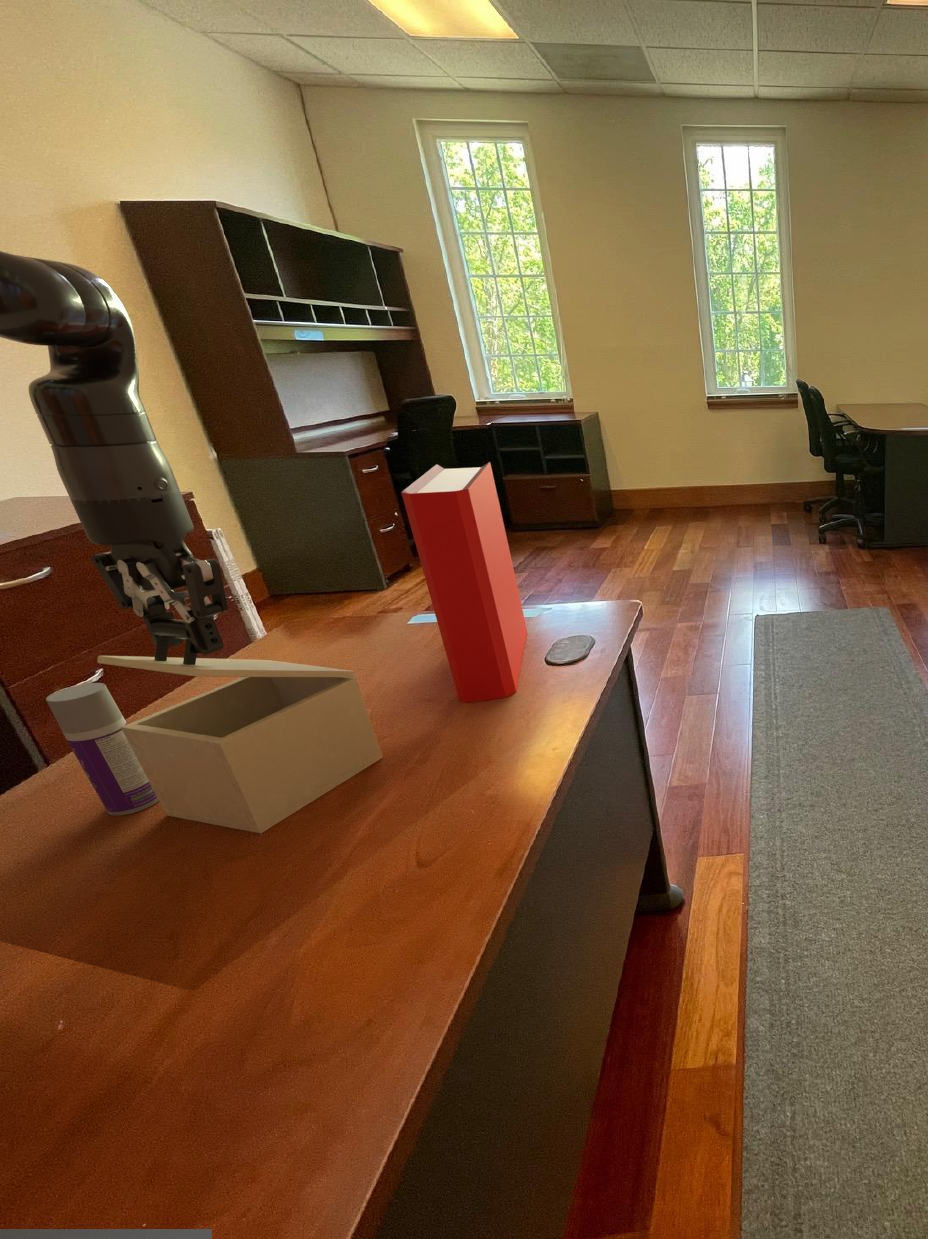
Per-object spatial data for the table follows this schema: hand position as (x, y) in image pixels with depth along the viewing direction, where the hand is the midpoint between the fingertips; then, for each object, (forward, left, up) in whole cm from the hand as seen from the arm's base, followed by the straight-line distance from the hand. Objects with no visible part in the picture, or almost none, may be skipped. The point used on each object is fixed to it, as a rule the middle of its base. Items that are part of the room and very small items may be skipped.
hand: (190, 648), depth 72 cm
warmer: (0, +3, -20) cm, 20 cm away
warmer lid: (0, +3, -4) cm, 5 cm away
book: (+1, +39, -20) cm, 44 cm away
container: (-13, -4, -20) cm, 24 cm away
